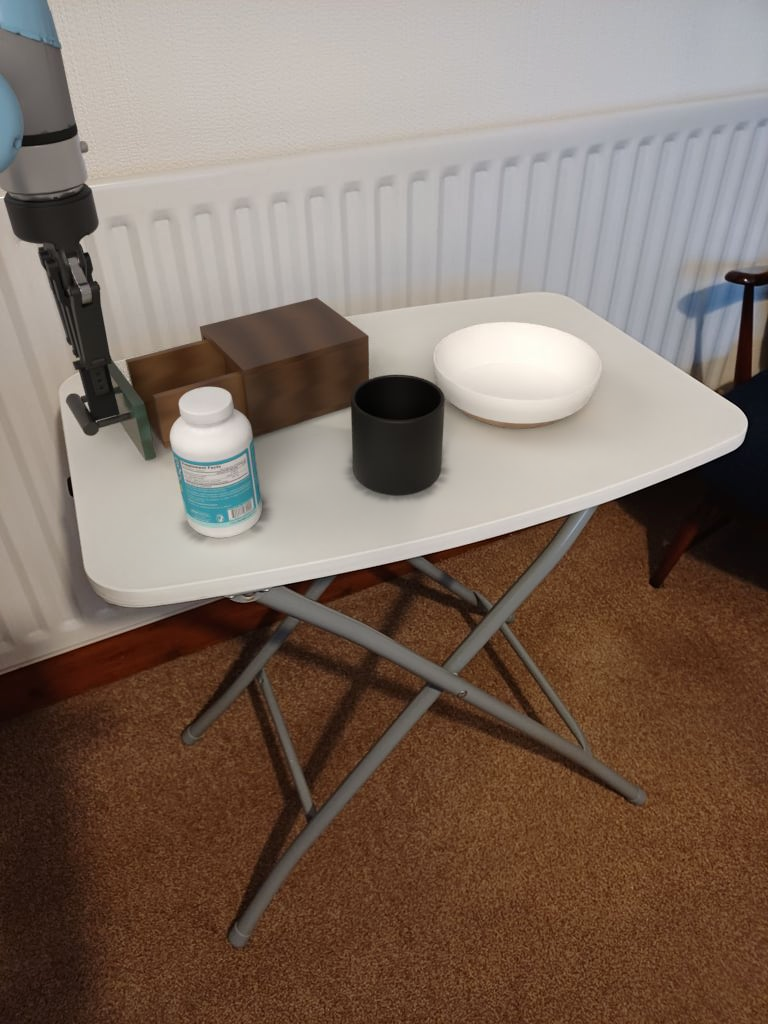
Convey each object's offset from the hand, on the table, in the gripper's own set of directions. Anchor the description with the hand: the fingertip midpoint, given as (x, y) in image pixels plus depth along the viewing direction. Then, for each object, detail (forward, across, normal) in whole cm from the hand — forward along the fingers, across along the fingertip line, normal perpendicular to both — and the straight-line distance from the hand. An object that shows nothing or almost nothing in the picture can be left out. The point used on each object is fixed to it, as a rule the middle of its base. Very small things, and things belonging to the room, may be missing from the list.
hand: (105, 414), depth 85 cm
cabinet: (+4, 0, -22) cm, 22 cm away
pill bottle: (+5, -18, -6) cm, 19 cm away
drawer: (+4, 0, -7) cm, 8 cm away
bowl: (+5, -16, -44) cm, 47 cm away
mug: (+5, -20, -26) cm, 33 cm away
